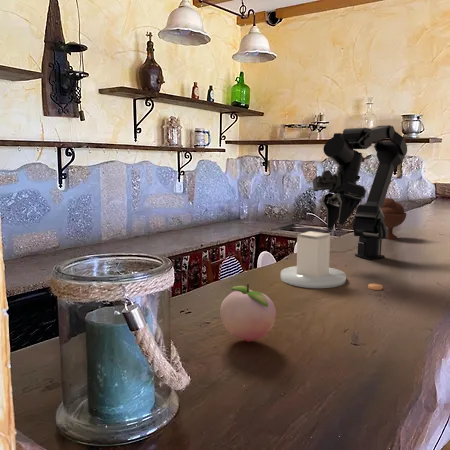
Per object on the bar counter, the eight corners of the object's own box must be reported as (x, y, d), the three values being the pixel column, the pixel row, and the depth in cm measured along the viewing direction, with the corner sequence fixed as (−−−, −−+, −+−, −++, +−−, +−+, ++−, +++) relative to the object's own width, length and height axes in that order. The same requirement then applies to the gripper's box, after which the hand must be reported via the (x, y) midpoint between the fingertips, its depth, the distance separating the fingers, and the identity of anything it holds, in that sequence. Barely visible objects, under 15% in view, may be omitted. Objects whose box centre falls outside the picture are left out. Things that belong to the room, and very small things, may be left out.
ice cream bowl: (386, 241, 161) (388, 200, 159) (368, 236, 172) (370, 197, 170) (411, 239, 164) (414, 199, 162) (392, 234, 175) (394, 196, 172)
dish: (317, 268, 123) (317, 263, 123) (359, 282, 109) (360, 276, 109) (268, 275, 116) (268, 269, 116) (306, 291, 102) (306, 285, 102)
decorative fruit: (209, 341, 75) (208, 283, 73) (242, 328, 80) (242, 274, 79) (250, 359, 68) (251, 296, 67) (284, 343, 74) (285, 284, 72)
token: (375, 285, 107) (375, 282, 107) (385, 288, 104) (385, 286, 104) (364, 287, 105) (365, 284, 105) (375, 290, 103) (375, 288, 102)
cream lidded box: (309, 269, 116) (309, 231, 115) (328, 273, 112) (330, 233, 111) (296, 273, 112) (297, 234, 111) (316, 277, 108) (317, 236, 107)
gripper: (310, 171, 130) (297, 223, 128) (330, 153, 112) (315, 213, 109) (346, 182, 131) (334, 233, 128) (372, 166, 112) (358, 225, 110)
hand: (334, 226), depth 119 cm, fingers open, 9 cm apart
